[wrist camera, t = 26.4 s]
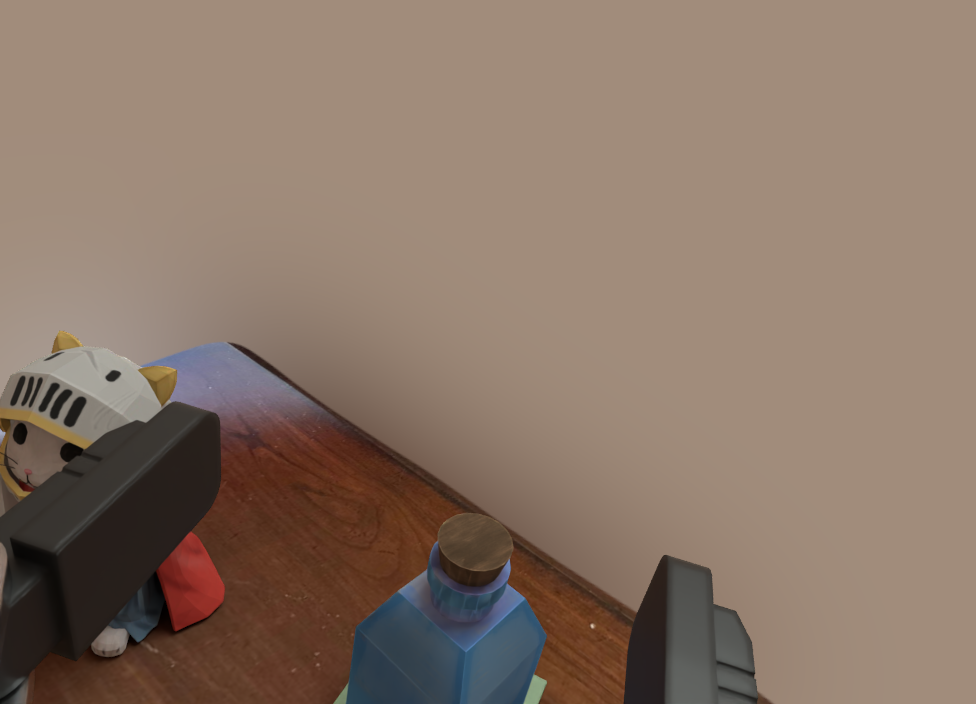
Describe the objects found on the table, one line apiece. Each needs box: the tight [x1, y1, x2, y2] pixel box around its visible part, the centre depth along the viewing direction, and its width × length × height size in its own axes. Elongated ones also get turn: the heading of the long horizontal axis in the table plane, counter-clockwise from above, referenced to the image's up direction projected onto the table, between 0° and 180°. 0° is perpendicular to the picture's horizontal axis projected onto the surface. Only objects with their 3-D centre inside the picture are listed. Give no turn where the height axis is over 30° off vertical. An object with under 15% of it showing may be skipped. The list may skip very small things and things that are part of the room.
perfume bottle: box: [346, 513, 547, 704], centre depth 32 cm, size 6×6×12 cm
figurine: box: [0, 331, 225, 657], centre depth 34 cm, size 13×11×15 cm
